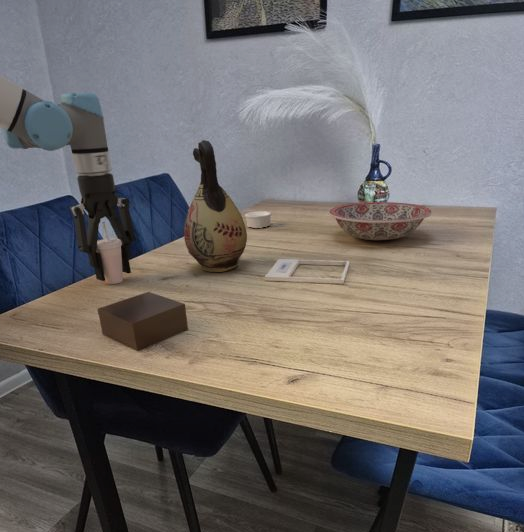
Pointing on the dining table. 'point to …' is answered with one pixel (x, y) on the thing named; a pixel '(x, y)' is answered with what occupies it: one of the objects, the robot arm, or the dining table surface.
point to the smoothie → (111, 258)
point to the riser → (143, 320)
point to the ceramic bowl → (379, 219)
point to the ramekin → (258, 219)
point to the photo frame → (288, 266)
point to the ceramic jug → (213, 219)
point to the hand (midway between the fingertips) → (114, 275)
